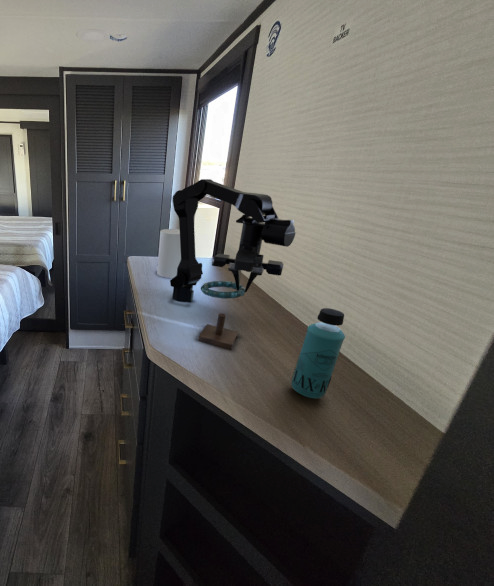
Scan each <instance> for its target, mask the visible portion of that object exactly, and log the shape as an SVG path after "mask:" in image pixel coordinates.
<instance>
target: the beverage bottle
mask: <svg viewBox="0 0 494 586" xmlns="http://www.w3.org/2000/svg"><path fill="white" fill-rule="evenodd" d="M344 319H345V313H344V312H342V311H340V310H337V309H334V308H328V307H325V308H321V309H320V310H319V313H318V315H317V320H318V321H317V322H314V323H312V324H310V325H308V326H307V328H306V329H307V331H306V333H305V337H304V340H303V343H302V347H301V350H300V352H299V353H298V355H299V356H298V357H297V360H296V363H295V366H294V370H293V371H292V373H293V374H292V377H291V380H290V381H291V387H292V389H293V390H294V391H295V392H297V394H300V395H302V396H303V397H306V398H309V399H321V398H323V397H324V396H325V395H326V393H327V391H328V389H329V386H330V383H331V380H332V378H333V376H332V375H333V372H334V369H335V368H336V367H335V366H336V364H337V362H338V358H339V357H340V355H339V354H340V351H341V349H342V345H343V342H344V340H345V338H346V335H345V333H344V332H343V331H342V329H341V328H340V327H338V326H342V325H343V324H344Z"/></svg>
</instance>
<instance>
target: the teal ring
mask: <svg viewBox="0 0 494 586" xmlns="http://www.w3.org/2000/svg"><path fill="white" fill-rule="evenodd" d="M213 288H227V289H232V291H220V290H213ZM245 289H246V286H243V285H242V284H241V283H240V287H239V290H237V288H236V283H235V281H227V280H214V281H213V280H212V281H208V282H204V283H203V284H202V285H201V287H200V291H201V292H202V293H203V294H204V295H206V296H208V297H211V298H214V299H215V298H217V299H224V300H225V299H227V300H228V299H237V298H240V297H242V296H243V297H244V295H245V294H246V292H245ZM233 290H234V291H233Z"/></svg>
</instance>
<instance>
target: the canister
mask: <svg viewBox="0 0 494 586" xmlns="http://www.w3.org/2000/svg"><path fill="white" fill-rule="evenodd" d="M158 245H159V246H158V255H157V256H158V257H157V266H156V267H157V269H156V274H157V276H159V277H160V278H161V277H162V278H164V279H170V280H171V279H173V278H174V277H175V276H176V275H177V268H178V265H179V263H180V261H181V248H180V228H165V229H161V230H160V232H159V243H158Z"/></svg>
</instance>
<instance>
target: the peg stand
mask: <svg viewBox="0 0 494 586" xmlns="http://www.w3.org/2000/svg"><path fill="white" fill-rule="evenodd" d="M226 317H227V315H226V314H225V313H221V312H219V313H218V314H217V320H216V325H212V324H210V323H207V324H206V325H205V326H204V328H203V329H202V331H201V332H200V334H199V335H198V339H197V341H199V342H202V343H205V344H210V345H214V346H217V347H220V348H224V349H228V350H232V349H233V347H234V344H235V342H236V340H237V338H238V334H239V331H237V330H233V329H229V328H225V323H226Z"/></svg>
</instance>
